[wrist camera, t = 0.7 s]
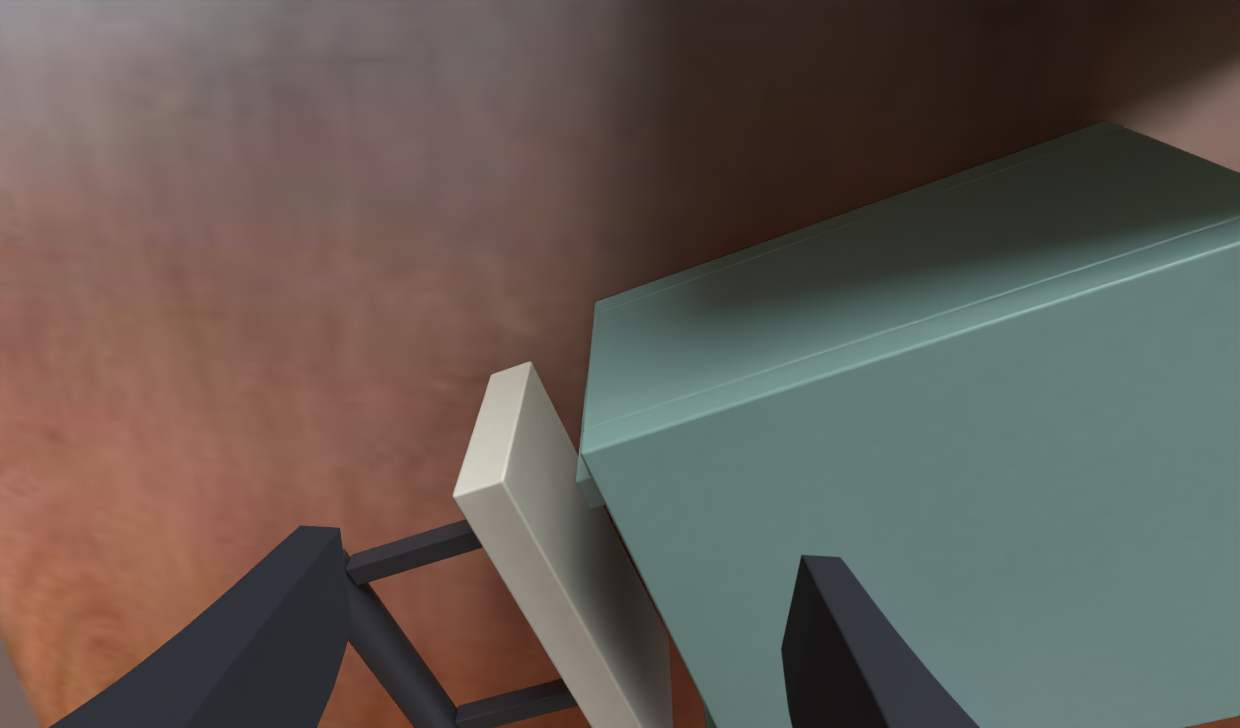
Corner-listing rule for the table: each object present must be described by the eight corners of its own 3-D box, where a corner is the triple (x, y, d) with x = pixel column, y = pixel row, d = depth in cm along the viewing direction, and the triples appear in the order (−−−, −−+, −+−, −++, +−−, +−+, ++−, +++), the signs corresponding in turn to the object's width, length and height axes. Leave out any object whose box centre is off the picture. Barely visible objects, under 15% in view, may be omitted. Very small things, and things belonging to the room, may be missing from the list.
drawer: (479, 688, 27) (447, 844, 23) (309, 436, 23) (224, 568, 18) (1012, 545, 24) (1103, 693, 19) (943, 217, 19) (1041, 308, 15)
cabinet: (731, 613, 27) (761, 821, 20) (594, 301, 22) (578, 453, 15) (1148, 500, 24) (1327, 698, 18) (1108, 118, 19) (1339, 210, 13)
